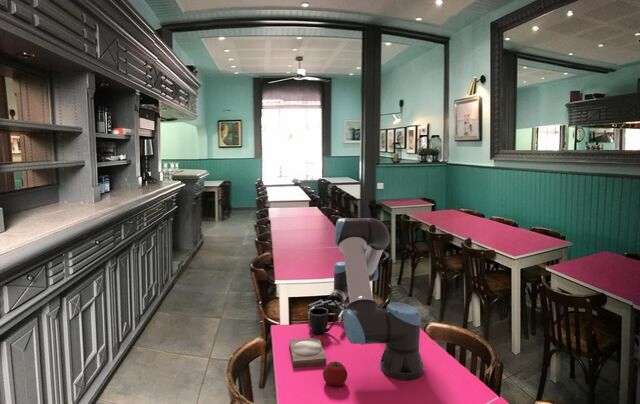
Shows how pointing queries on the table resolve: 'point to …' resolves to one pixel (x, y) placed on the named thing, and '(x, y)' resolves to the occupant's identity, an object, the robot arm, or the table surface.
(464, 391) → the table surface
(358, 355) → the table surface
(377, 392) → the table surface
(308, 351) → the wooden coaster block
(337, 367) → the tomato
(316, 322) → the mug
